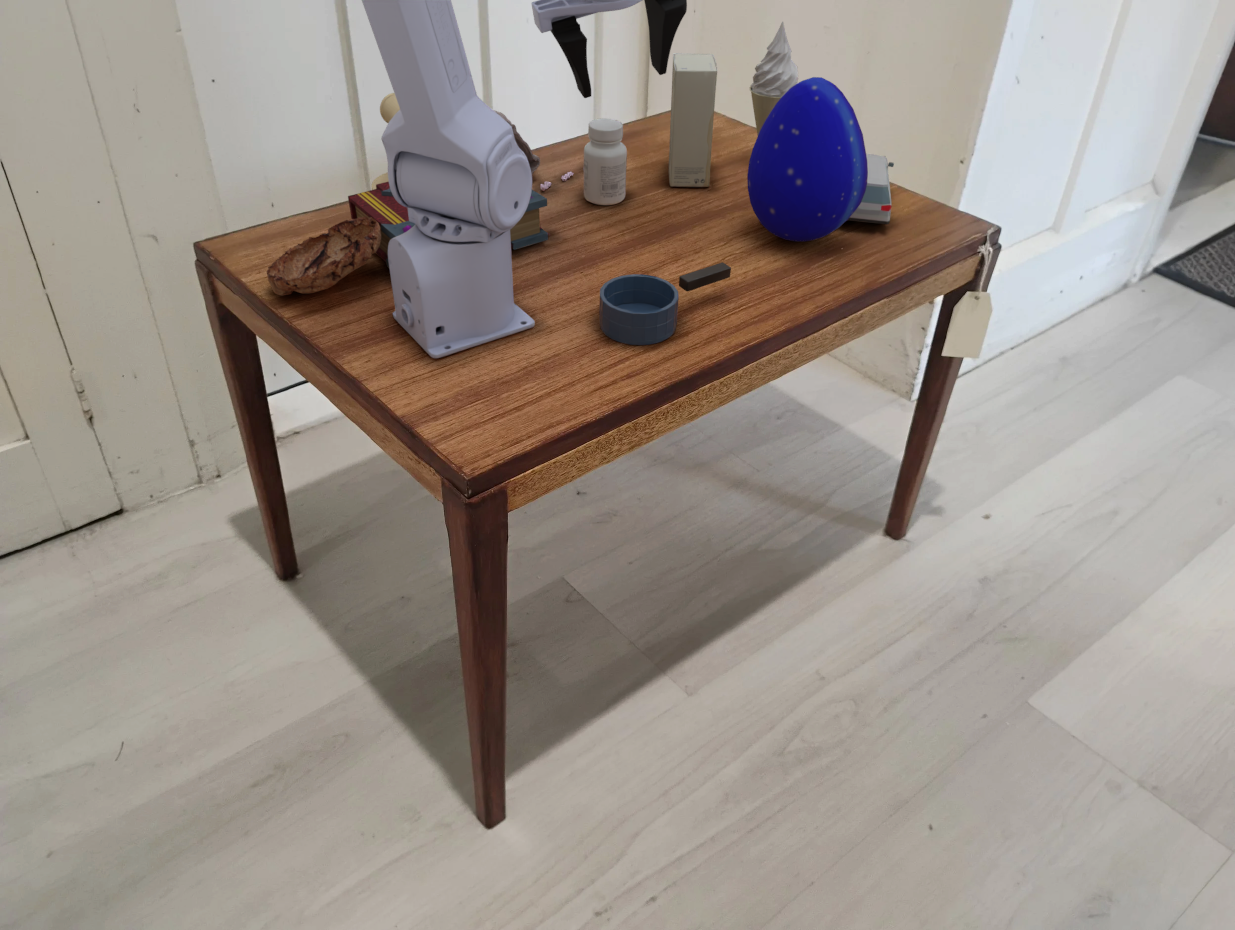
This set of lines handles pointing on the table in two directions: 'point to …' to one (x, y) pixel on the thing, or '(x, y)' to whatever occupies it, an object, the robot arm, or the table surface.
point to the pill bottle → (605, 163)
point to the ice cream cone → (773, 77)
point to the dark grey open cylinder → (638, 309)
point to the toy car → (875, 193)
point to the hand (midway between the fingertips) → (622, 80)
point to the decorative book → (397, 222)
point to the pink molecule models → (564, 178)
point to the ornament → (808, 163)
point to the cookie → (325, 257)
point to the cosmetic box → (692, 119)
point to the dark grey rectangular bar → (704, 276)
